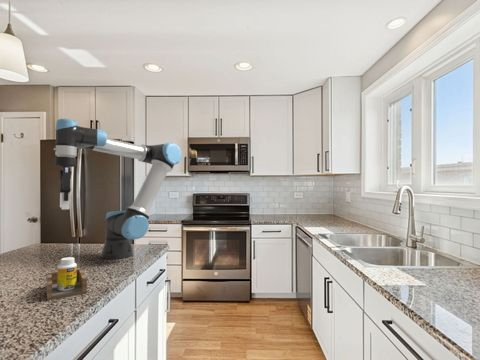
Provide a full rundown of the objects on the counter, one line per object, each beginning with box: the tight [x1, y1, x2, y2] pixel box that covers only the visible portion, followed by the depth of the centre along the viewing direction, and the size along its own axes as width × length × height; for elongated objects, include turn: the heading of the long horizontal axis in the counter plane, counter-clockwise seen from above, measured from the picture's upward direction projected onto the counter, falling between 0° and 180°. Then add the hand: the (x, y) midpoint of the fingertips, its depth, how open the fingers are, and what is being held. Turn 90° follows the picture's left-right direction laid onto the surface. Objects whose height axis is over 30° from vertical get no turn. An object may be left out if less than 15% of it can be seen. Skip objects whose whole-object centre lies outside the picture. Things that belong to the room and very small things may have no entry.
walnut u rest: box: [46, 268, 88, 301], centre depth 96 cm, size 14×11×5 cm
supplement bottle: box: [57, 256, 78, 291], centre depth 95 cm, size 6×6×10 cm
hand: (64, 208), depth 115 cm, fingers open, 13 cm apart
